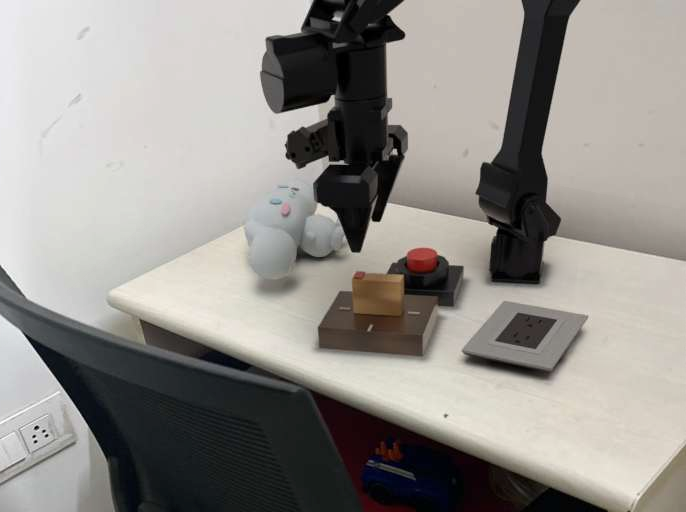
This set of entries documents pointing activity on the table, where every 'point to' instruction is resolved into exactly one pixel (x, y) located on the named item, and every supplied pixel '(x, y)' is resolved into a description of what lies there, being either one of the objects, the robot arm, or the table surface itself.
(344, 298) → the panel
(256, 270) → the toy
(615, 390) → the table surface
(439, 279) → the button box
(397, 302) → the knob
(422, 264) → the button
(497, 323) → the electrical outlet
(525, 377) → the table surface
